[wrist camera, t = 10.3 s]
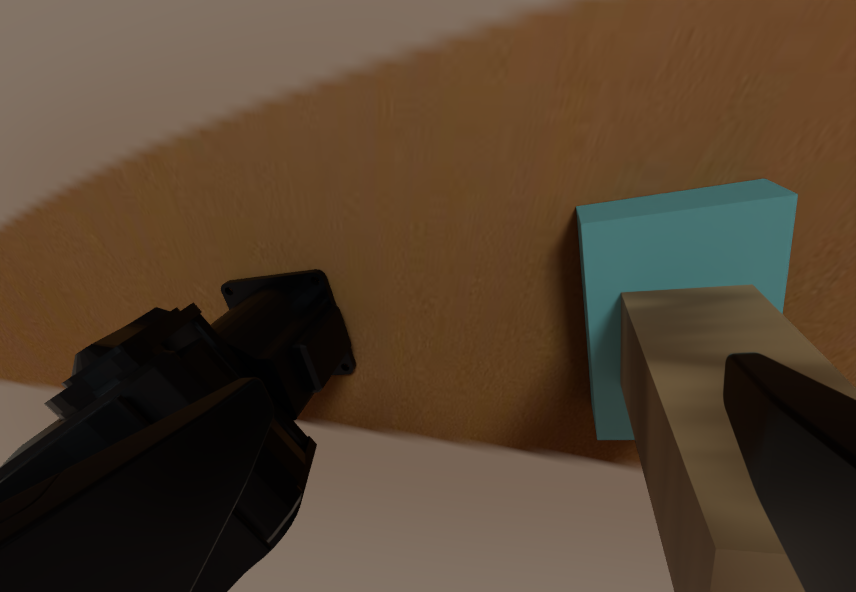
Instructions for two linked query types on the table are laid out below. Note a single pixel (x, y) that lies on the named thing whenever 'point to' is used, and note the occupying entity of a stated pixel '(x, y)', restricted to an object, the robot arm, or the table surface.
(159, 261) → the table surface
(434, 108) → the table surface
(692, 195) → the base block
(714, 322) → the tan wooden block
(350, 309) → the table surface
